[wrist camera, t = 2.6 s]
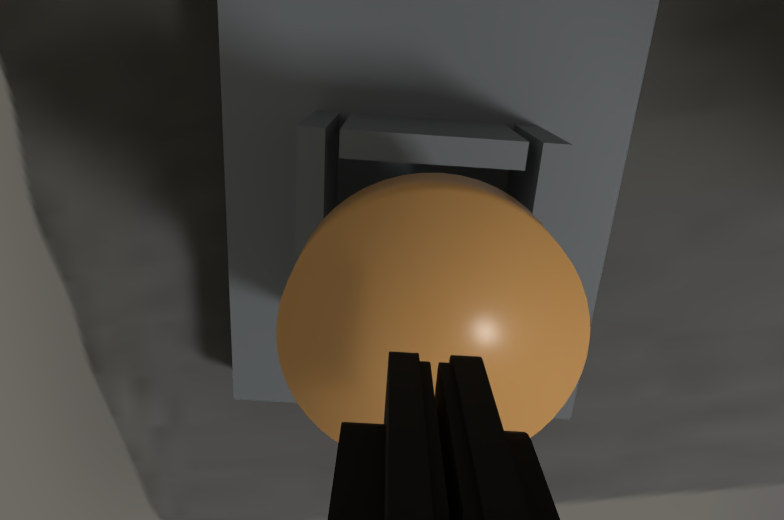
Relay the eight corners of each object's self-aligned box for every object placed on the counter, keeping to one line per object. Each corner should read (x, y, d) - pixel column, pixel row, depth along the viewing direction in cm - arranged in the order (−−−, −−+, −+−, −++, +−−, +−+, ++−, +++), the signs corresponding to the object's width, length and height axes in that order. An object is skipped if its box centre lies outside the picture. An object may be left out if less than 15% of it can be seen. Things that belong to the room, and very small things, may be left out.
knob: (315, 136, 16) (274, 180, 11) (546, 152, 16) (619, 202, 11) (312, 342, 19) (277, 460, 13) (514, 354, 19) (560, 477, 13)
